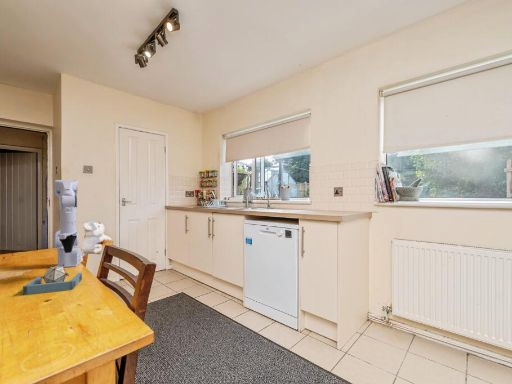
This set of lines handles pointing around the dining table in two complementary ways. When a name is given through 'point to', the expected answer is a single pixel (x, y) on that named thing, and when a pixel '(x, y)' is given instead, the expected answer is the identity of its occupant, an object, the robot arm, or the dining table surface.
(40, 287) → the chassis
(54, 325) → the dining table surface
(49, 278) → the game die
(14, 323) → the dining table surface
